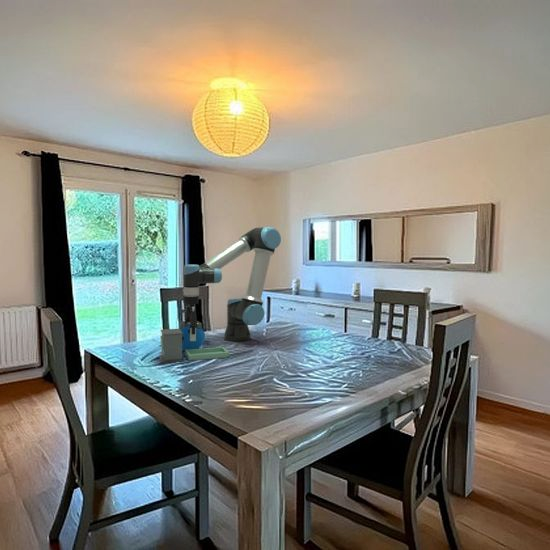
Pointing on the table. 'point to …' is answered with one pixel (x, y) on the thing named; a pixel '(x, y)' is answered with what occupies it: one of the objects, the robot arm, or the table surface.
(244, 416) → the table surface
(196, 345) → the alarm clock
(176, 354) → the box
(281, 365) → the table surface
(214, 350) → the green tray
